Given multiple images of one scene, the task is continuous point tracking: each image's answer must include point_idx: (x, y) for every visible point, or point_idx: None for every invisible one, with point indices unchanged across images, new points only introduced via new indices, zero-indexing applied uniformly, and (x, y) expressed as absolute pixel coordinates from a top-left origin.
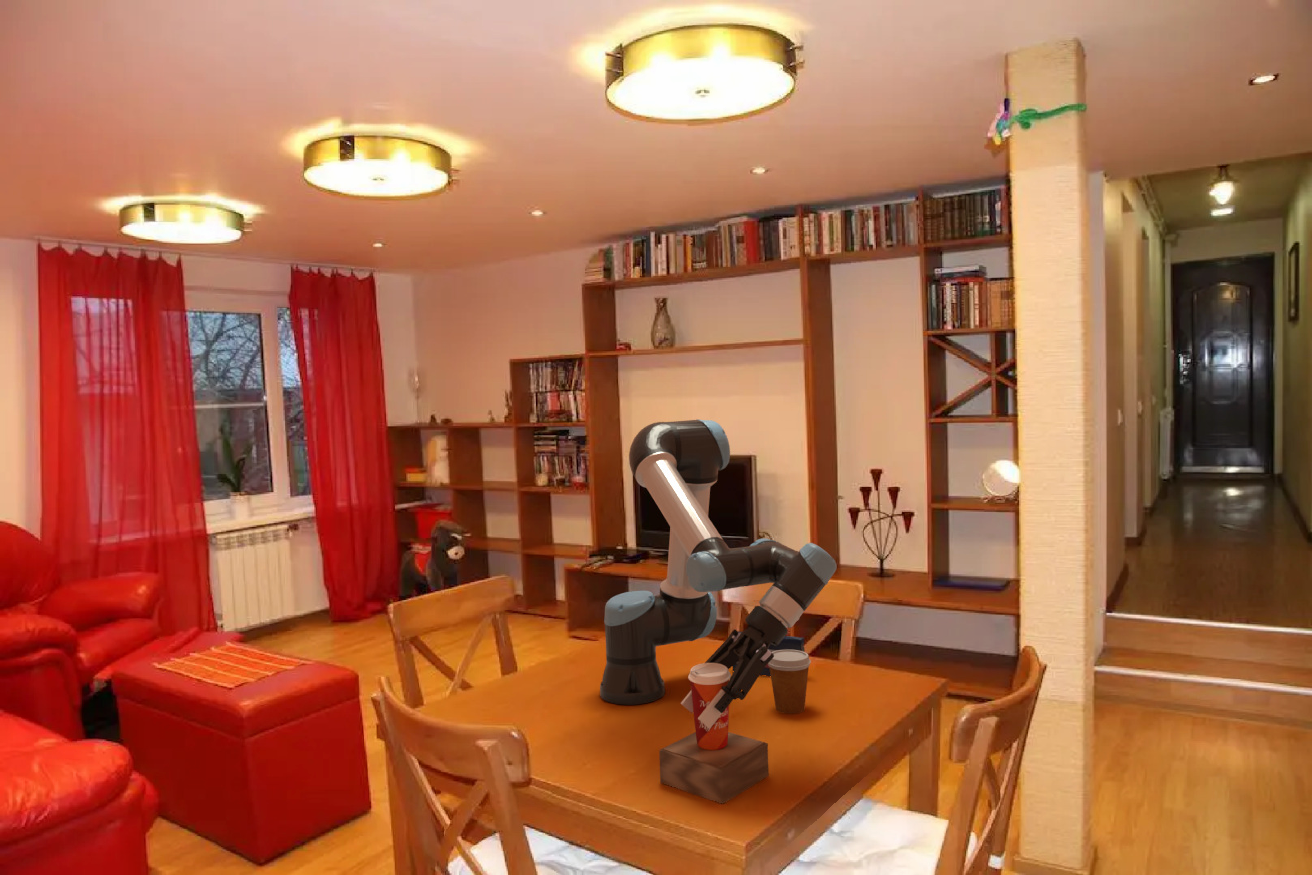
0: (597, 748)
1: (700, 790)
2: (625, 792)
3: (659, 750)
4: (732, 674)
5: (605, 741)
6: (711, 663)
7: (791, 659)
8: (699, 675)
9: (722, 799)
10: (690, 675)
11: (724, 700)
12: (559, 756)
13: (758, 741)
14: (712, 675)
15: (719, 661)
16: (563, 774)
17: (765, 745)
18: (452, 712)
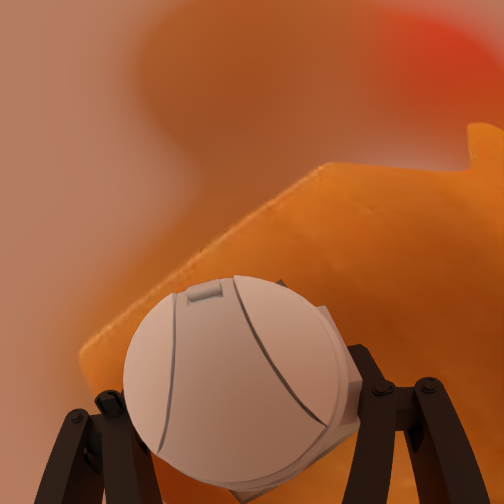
0: (422, 229)
1: None
2: (262, 246)
3: (280, 280)
4: (130, 465)
5: (445, 243)
6: (321, 419)
7: None
8: (163, 302)
9: None
10: (233, 279)
11: (122, 394)
12: (396, 184)
13: (251, 491)
14: (135, 363)
15: (351, 472)
16: (340, 182)
17: (237, 498)
18: (482, 125)
